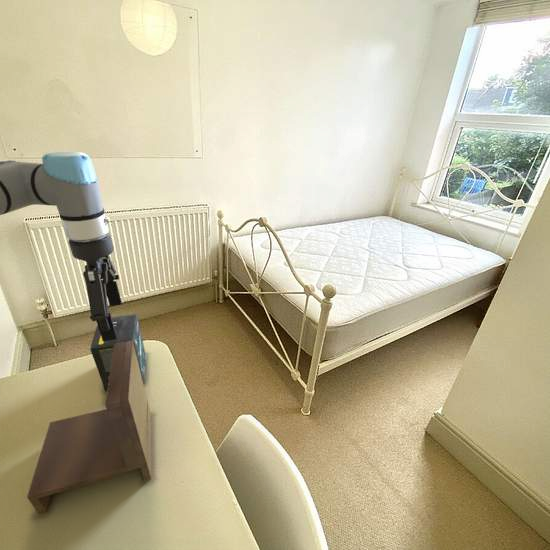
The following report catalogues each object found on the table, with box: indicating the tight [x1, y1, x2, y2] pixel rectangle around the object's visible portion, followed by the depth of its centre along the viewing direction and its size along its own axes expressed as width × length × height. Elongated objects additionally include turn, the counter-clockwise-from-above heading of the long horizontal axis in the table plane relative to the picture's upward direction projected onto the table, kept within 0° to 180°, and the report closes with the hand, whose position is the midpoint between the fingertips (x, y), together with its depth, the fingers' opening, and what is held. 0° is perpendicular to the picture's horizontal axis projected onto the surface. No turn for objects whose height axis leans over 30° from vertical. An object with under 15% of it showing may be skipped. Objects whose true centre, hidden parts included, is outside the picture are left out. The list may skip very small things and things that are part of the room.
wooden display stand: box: [26, 341, 152, 515], centre depth 55 cm, size 18×14×23 cm
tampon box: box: [89, 313, 147, 392], centre depth 77 cm, size 11×9×15 cm
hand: (113, 320), depth 72 cm, fingers open, 13 cm apart
